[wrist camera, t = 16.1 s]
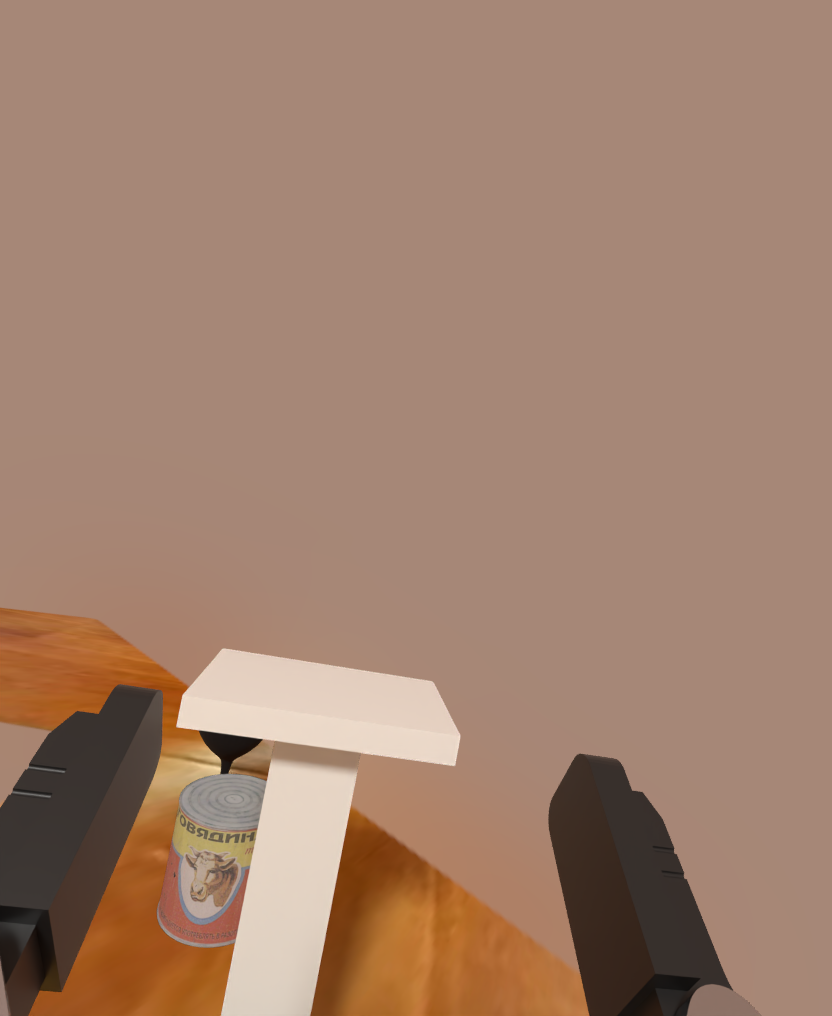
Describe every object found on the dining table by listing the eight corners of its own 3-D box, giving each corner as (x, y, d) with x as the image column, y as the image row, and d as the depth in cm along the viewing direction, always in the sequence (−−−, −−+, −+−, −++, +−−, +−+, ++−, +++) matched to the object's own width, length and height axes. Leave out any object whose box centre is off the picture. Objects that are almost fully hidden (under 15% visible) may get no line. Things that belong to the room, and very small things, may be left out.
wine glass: (172, 799, 82) (199, 660, 82) (245, 795, 87) (271, 664, 87) (180, 842, 72) (211, 685, 73) (262, 834, 78) (290, 687, 78)
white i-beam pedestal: (368, 1222, 37) (460, 736, 38) (79, 1211, 35) (182, 695, 36) (362, 1049, 49) (433, 681, 50) (146, 1033, 47) (223, 648, 48)
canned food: (138, 938, 57) (162, 817, 57) (180, 867, 68) (200, 767, 68) (251, 955, 57) (275, 835, 57) (274, 883, 68) (294, 783, 69)
